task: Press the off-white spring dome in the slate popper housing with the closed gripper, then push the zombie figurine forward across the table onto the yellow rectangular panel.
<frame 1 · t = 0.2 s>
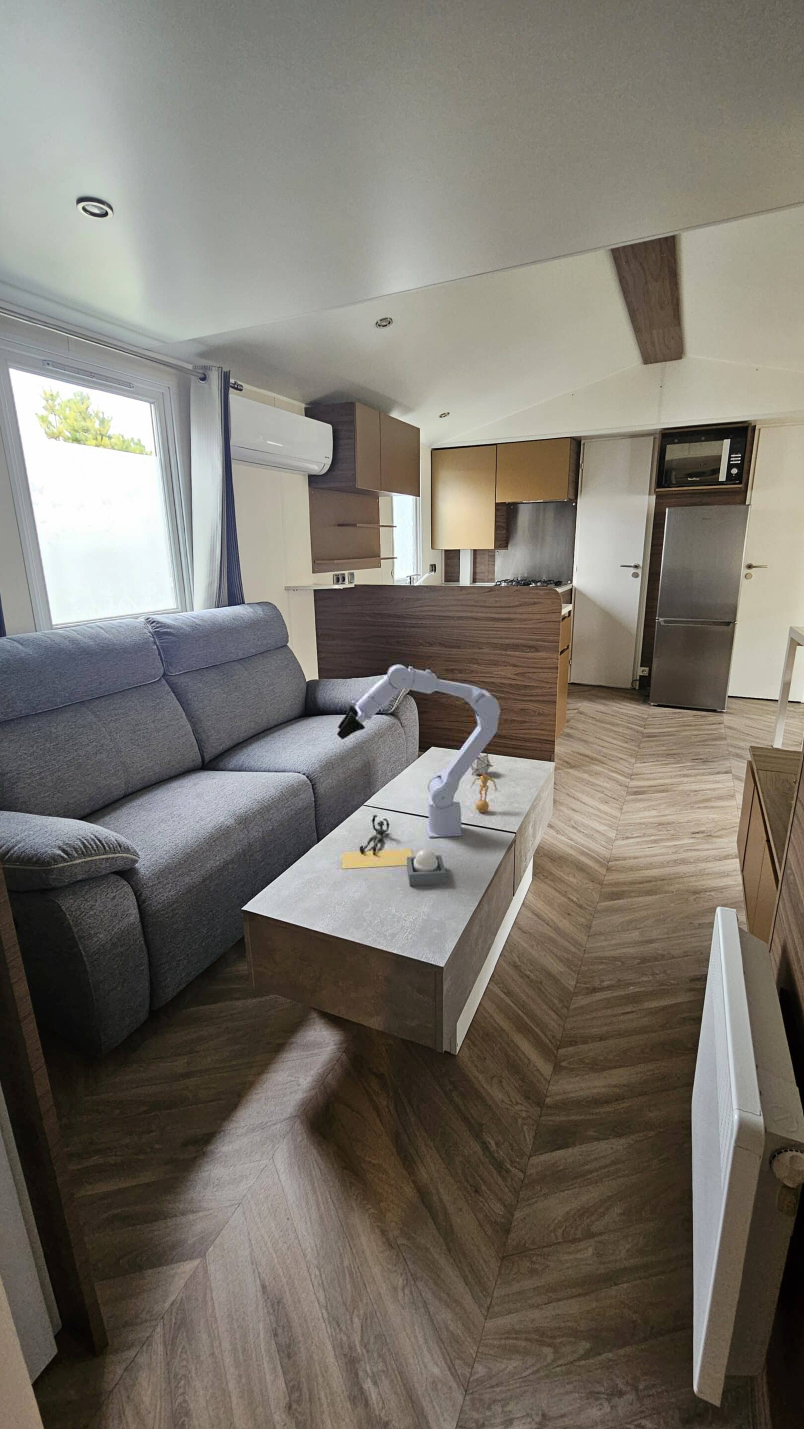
hand: (340, 733, 170), 32 cm above the table, tool tilted 50°, fingers open, 7 cm apart
yellow rectangular panel: (377, 858, 166), on the table
grey spiky lattice polyhedron: (480, 775, 225), on the table
popper housing: (425, 876, 156), on the table
zombie figurine: (376, 843, 175), on the table, touching yellow rectangular panel
figurine: (483, 811, 194), on the table
popper dome: (425, 859, 155), point 5 cm above the table, slide at 0.0 cm
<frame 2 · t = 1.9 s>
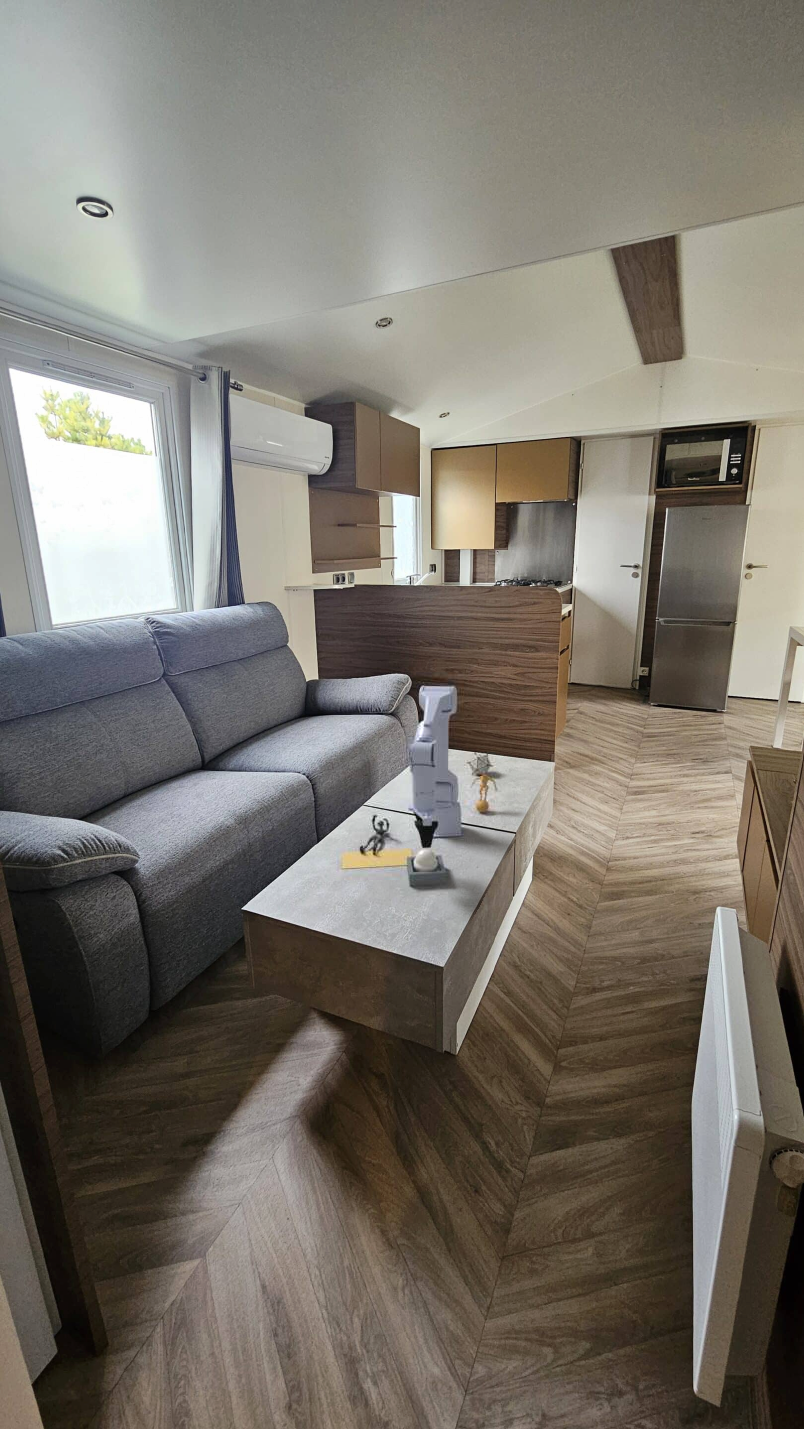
hand: (425, 840, 154), 10 cm above the table, tool pointing down, fingers open, 7 cm apart
nothing on the table moved.
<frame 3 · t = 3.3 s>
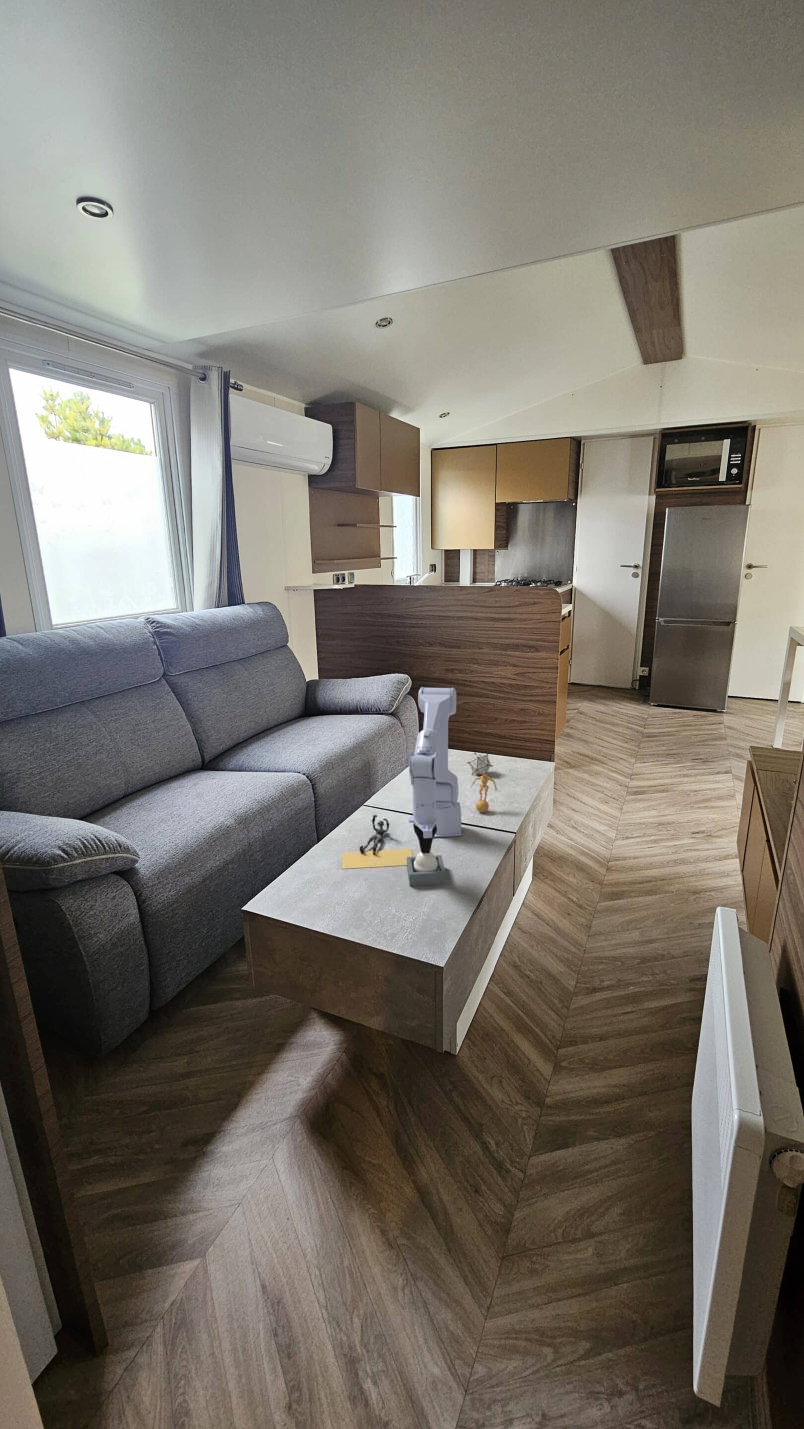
hand: (425, 851, 154), 7 cm above the table, tool pointing down, fingers closed, pressing on popper dome
popper dome: (425, 861, 155), point 4 cm above the table, slide at 0.4 cm, touching gripper
everything else where it was.
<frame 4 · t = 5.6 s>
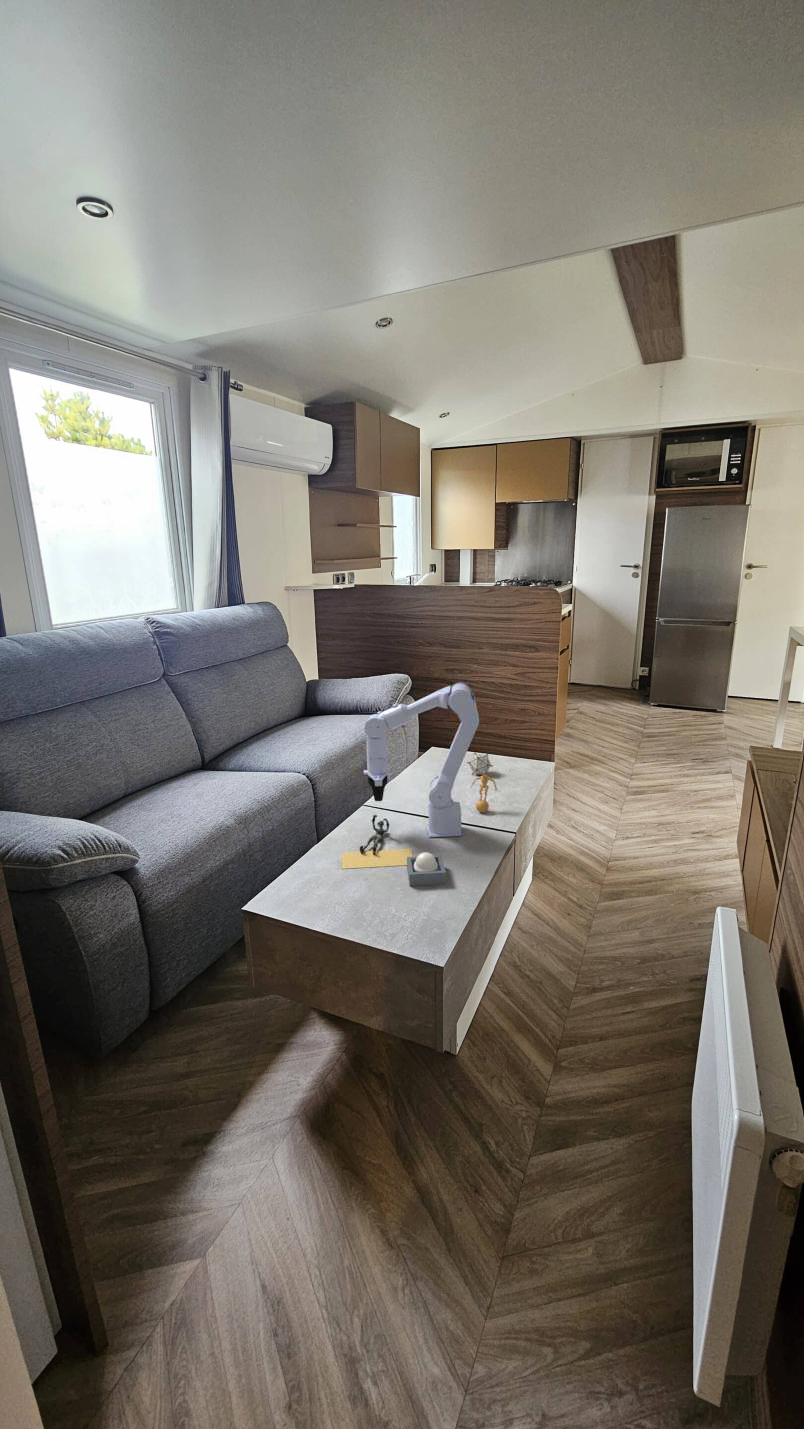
hand: (378, 800, 180), 10 cm above the table, tool pointing down, fingers closed
popper dome: (425, 863, 155), point 4 cm above the table, slide at 1.0 cm
everything else where it was.
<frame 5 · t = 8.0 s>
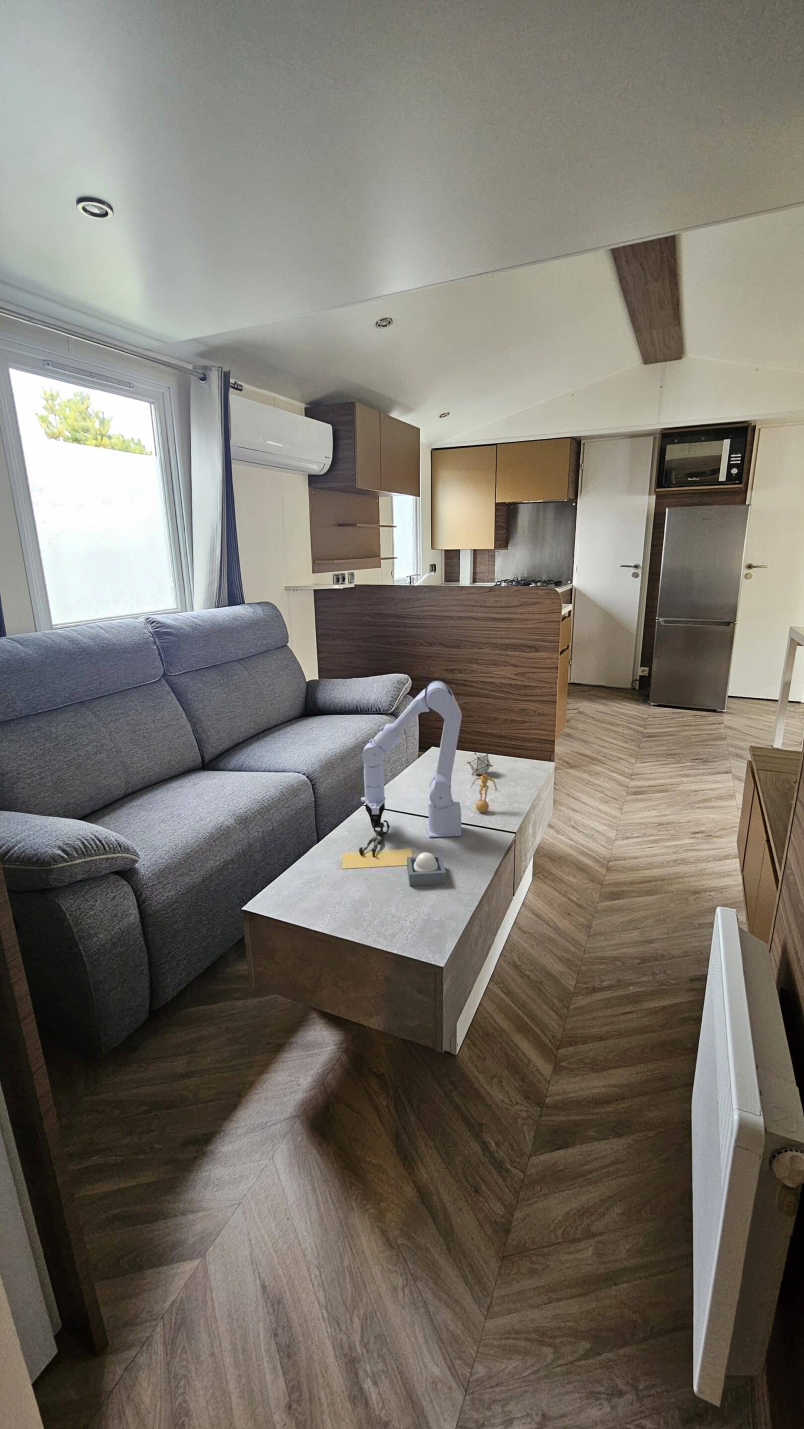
hand: (376, 827, 182), 1 cm above the table, tool pointing down, fingers closed
zombie figurine: (376, 844, 174), on the table, touching gripper
everything else where it was.
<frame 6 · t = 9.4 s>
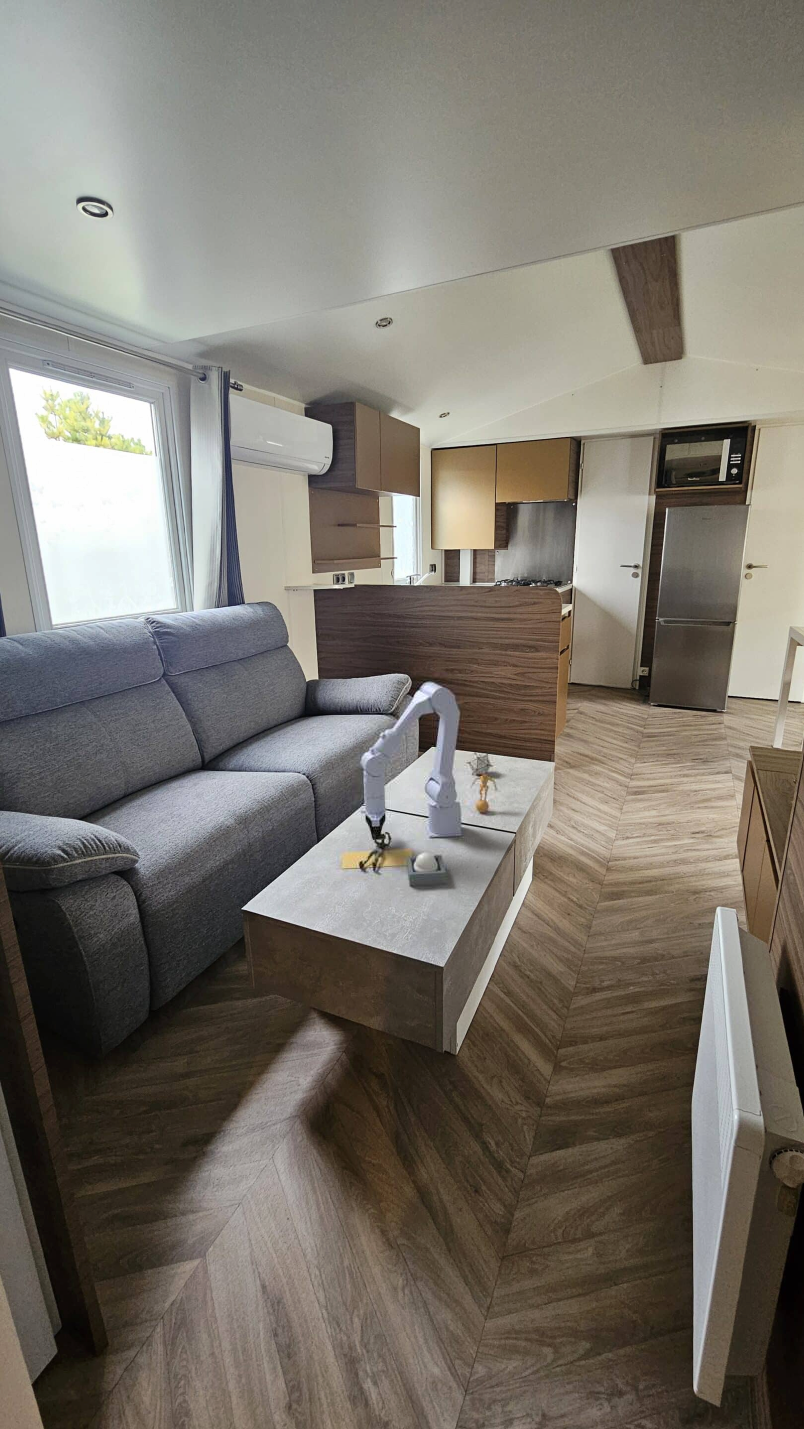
hand: (376, 839, 174), 1 cm above the table, tool pointing down, fingers closed
zombie figurine: (377, 857, 166), resting on yellow rectangular panel, touching gripper
everything else where it was.
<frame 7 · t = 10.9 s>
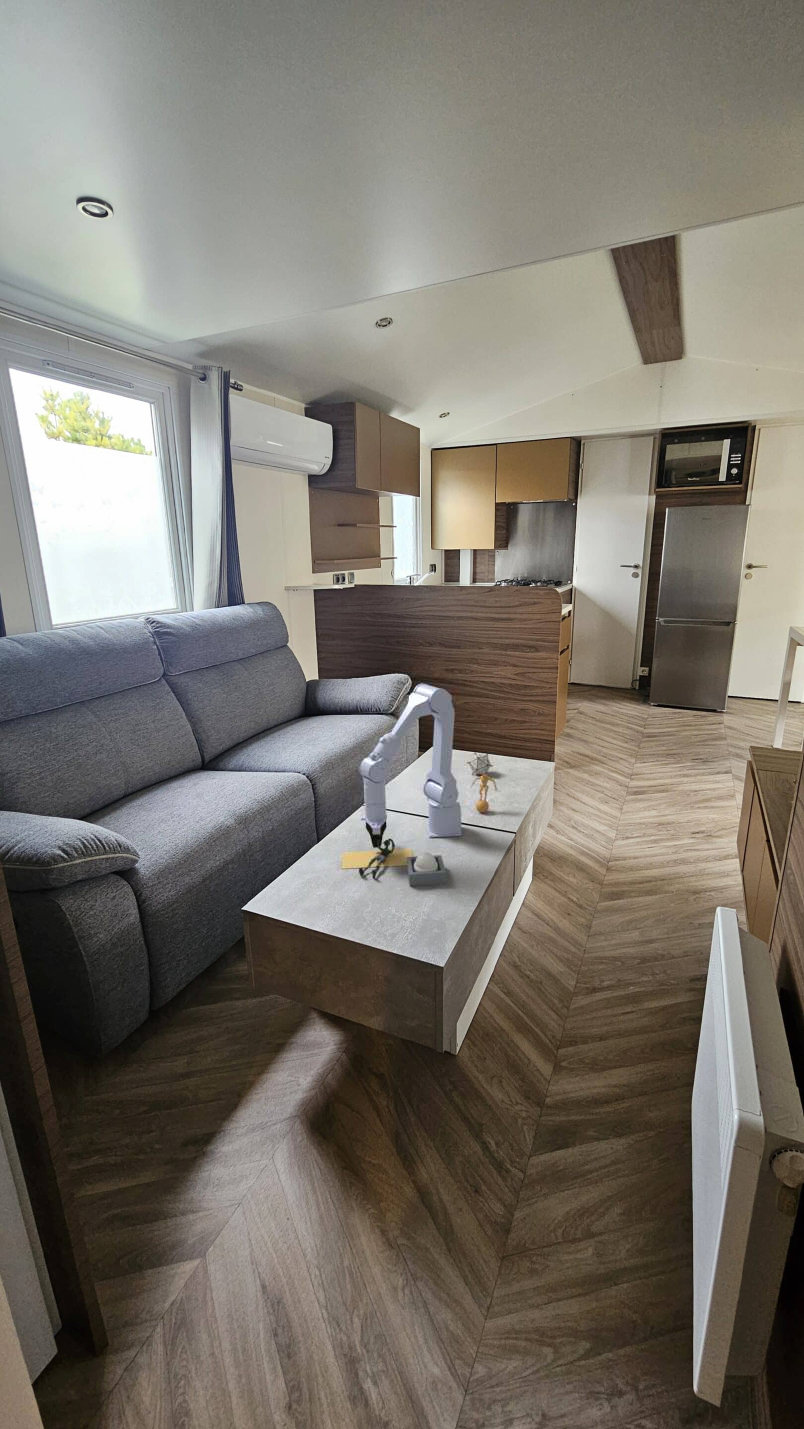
hand: (377, 847, 169), 1 cm above the table, tool pointing down, fingers closed
zombie figurine: (379, 864, 163), on the table, touching yellow rectangular panel, gripper
everything else where it was.
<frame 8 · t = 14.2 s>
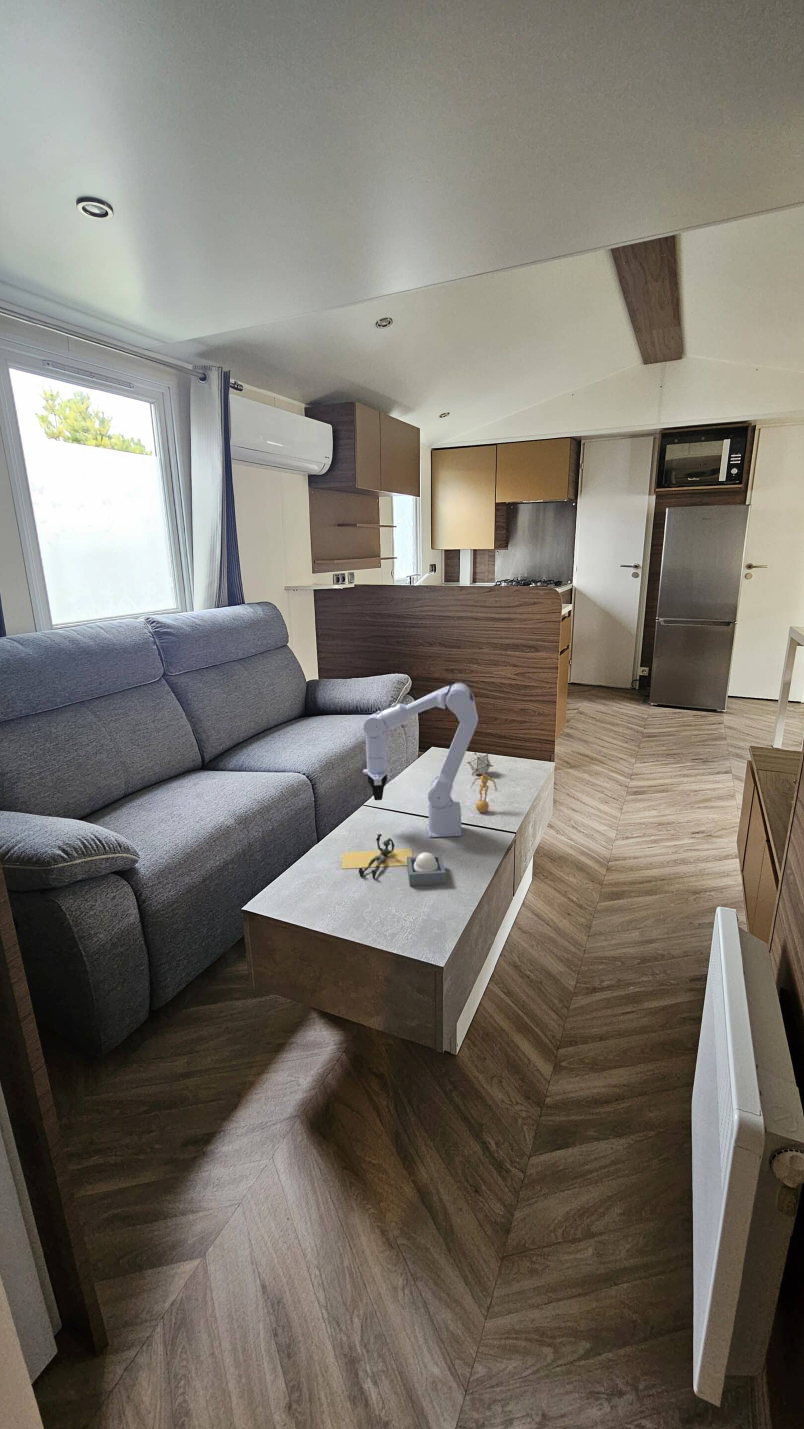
hand: (378, 799, 181), 9 cm above the table, tool pointing down, fingers closed
zombie figurine: (379, 864, 163), on the table, touching yellow rectangular panel
everything else where it was.
at the end: zombie figurine inside the target area (2.9 cm from its centre), on the table; zombie figurine moved 12.6 cm from its start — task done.
